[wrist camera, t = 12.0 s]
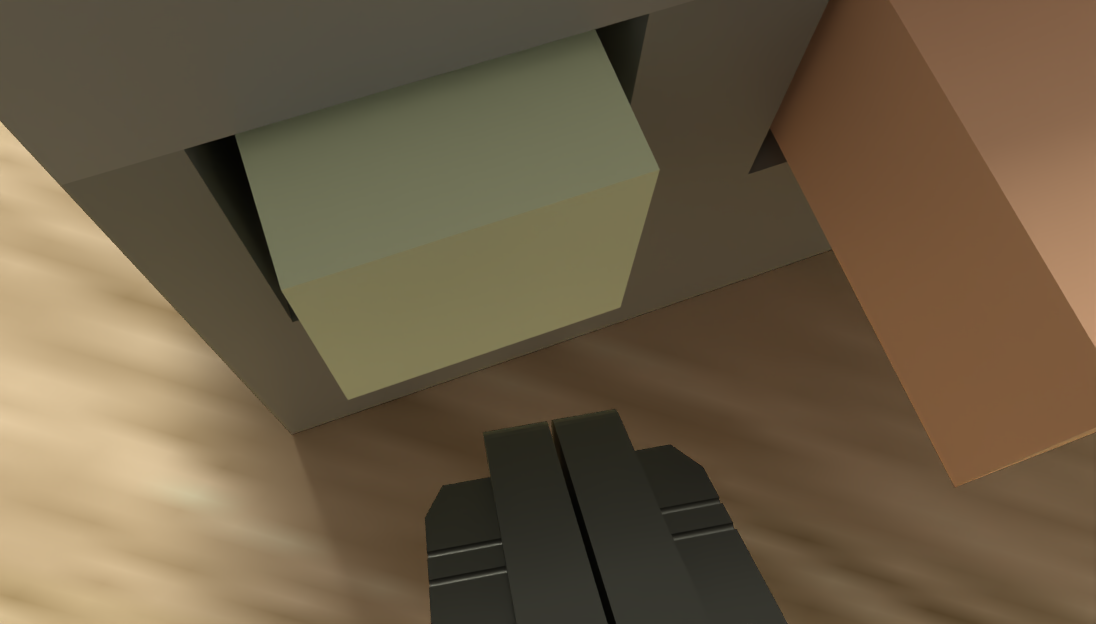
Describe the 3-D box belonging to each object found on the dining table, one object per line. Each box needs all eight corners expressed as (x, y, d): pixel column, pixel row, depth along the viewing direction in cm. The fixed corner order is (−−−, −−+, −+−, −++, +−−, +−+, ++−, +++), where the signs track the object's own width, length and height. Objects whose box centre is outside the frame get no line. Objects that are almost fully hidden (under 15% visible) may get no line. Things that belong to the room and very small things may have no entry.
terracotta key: (954, 488, 14) (1132, 412, 10) (732, 56, 17) (803, -145, 13) (1203, 389, 15) (1465, 280, 11) (953, -12, 17) (1089, -223, 13)
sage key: (348, 399, 14) (281, 290, 10) (219, -14, 17) (124, -235, 13) (620, 307, 15) (659, 169, 11) (457, -78, 18) (440, -307, 14)
